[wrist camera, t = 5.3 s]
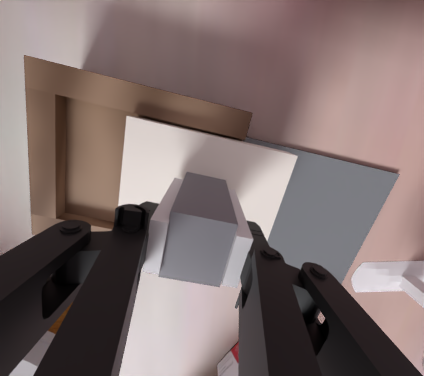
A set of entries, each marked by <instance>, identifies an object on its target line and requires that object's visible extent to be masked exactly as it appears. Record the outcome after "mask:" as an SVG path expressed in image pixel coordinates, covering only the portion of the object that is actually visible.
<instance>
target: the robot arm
mask: <svg viewBox="0 0 424 376" xmlns="http://www.w3.org/2000/svg"><path fill="white" fill-rule="evenodd" d="M183 180H184V179H179V178H174V180H173V181H172V183H171V185H170V186H169V188H168V190H167V192H166V193H165V195H164V197H163V198H162V200H161V202H160V204H159V203H154V202H148V201H146V202H143V203H141V204H140V205H137V204H124V205H121V206H118V207H117V208H116V209H115V218H114V227H113V229H112V230H111V231H91V225H90V224H89V223H88V222H85V221H81V220H67V221H62V222H59V223H57V224H54V225H53V226H51V227H49V228H47V229H46V230H44V231H42V232H41V233H39V234H37V235H35V236H34V237H32V238H30V239H29V240H27V241H25V242H23V243H22V244H20V245H18V246H16V247H15V248H13V249H11V250H10V251H8V252H6V253H4V254H3V255H1V256H0V376H9V375H10V373H11V372H12V371H13V370H14V369H15V368H16V367H17V365H18V364H19V363H20V362H21V361H22V360H23V358H24V357H25V356H26V355H27V354H28V353H29V352H30V350H31V349H32V348H33V347H34V346H35V345H36V343H37V342H38V341H39V340H40V339H41V338H42V337H43V335H44V334H45V333H46V332H47V331H48V330H49V329H50V327H51V326H52V325H53V324H54V323H55V322H56V320H57V319H58V318H59V317H60V316H61V315H62V314H63V312H64V311H65V310H66V309H67V308H68V307H69V305H70V304H71V303H72V302H73V303H72V305H71V307H70V308H69V310H68V312H67V314H66V316H65V318H64V319H63V321H62V323H61V325H60V327H59V329H58V331H57V332H56V334H55V336H54V338H53V340H52V342H51V343H50V345H49V347H48V349H47V351H46V353H45V355H44V356H43V358H42V360H41V362H40V364H39V366H38V367H37V369H36V371H35V373H34V375H33V376H119V372H120V368H121V363H122V358H123V354H124V349H125V345H126V340H127V335H128V331H129V326H130V321H131V317H132V312H133V308H134V303H135V298H136V294H137V289H138V285H139V280H140V273H141V269H142V267H143V272H147V273H153V274H158V275H159V273H160V270H161V264H162V259H163V253H164V247H165V242H166V236H167V231H168V225H169V215H170V211H171V208H172V206H173V203H174V201H175V199H176V196H177V194H178V192H179V189H180V187H181V184H182V182H183ZM228 190H229V194H230V197H231V201H232V204H233V208H234V211H235V215H236V218H237V222H238V228H237V231H236V233H235V237H234V240H233V243H232V247H231V250H230V253H229V257H228V260H227V264H226V267H225V270H224V274H223V277H222V280H221V281H222V285H223V286H229V287H235V288H237V287H238V284H239V281H240V279H241V284H242V287H241V290H240V293H239V296H238V299H237V302H236V305H235V308H238V305H239V365H238V376H423V375H422V374H421V373H420V372H419V371H418V370H417V369H416V368H415V367H414V365H413V364H412V363H411V362H410V361H409V360H408V359H407V358H406V356H405V355H404V354H403V353H402V352H401V351H400V350H399V349H398V347H397V346H396V345H395V344H394V343H393V342H392V341H391V340H390V339H389V337H388V336H387V335H386V334H385V333H384V332H383V331H382V330H381V328H380V327H379V326H378V325H377V324H376V323H375V322H374V321H373V320H372V318H371V317H370V316H369V315H368V314H367V313H366V312H365V311H364V309H363V308H362V307H361V306H360V305H359V304H358V303H357V302H356V301H355V299H354V298H353V297H352V296H351V295H350V294H349V293H348V292H347V290H346V289H345V288H344V287H343V286H342V285H341V284H340V283H339V282H338V280H337V279H336V278H335V277H334V276H333V275H332V274H331V273H330V272H329V271H328V270H327V269H325V268H323V267H322V266H321V265H318V264H316V263H311V262H305V263H303V264H302V267H301V269H299V268H296V267H293V266H291V265H288V264H286V263H285V261H284V258H283V256H282V255H281V254H280V253H279V252H278V251H277V250H275V249H273V248H271V247H270V246H269V244H268V242H267V240H266V238H265V237H264V234H263V233H262V230H261V228H260V226H259V225H258V224H256V223H255V222H252V221H247V220H246V218H245V216H244V213H243V210H242V208H241V205H240V202H239V200H238V197H237V194H236V192H235V190H231V189H228ZM143 264H144V265H143ZM320 311H321V312H322V314H323V315H324V317H325V320H324V322H323V323H322V324H321V323H320V321H319V320H318V318H317V317H318V315H319V313H320Z"/></svg>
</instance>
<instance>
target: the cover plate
mask: <svg viewBox="0 0 424 376" xmlns="http://www.w3.org/2000/svg"><path fill="white" fill-rule="evenodd" d="M297 157H298V156H296V155H294V154H291V153H289V152H286V151H281V150H277V149H273V148H269V147H264V146H260V145H256V144H252V143H247V142H243V141H239V140H235V139H230V138H226V137H222V136H218V135H213V134H209V133H205V132H201V131H196V130H192V129H188V128H184V127H180V126H175V125H171V124H167V123H163V122H158V121H154V120H150V119H146V118H141V117H137V116H126V127H125V138H124V149H123V159H122V170H121V181H120V191H119V202H118V206H121V205H124V204H137V205H140V204H141V203H143V202H146V201H148V202H154V203H159V204H160V202H161V200H162V198H163V197H164V195H165V193H166V192H167V190H168V188H169V186H170V185H171V183H172V181H173V180H174V178H179V179H184V180H183V182H182V184H181V187H180V189H179V192H178V194H177V196H176V199H175V201H174V203H173V206H172V208H171V211H170V215H169V225H168V231H167V236H166V242H165V247H164V253H163V259H162V264H161V270H160V273H159V276H158V277H163V278H169V279H175V280H181V281H187V282H193V283H198V284H204V285H210V286H216V287H220V284H221V280H222V277H223V274H224V270H225V267H226V264H227V260H228V257H229V253H230V250H231V247H232V243H233V240H234V237H235V233H236V231H237V228H238V222H237V218H236V215H235V211H234V208H233V204H232V201H231V197H230V194H229V190H228V189H231V190H235V192H236V194H237V197H238V200H239V202H240V205H241V208H242V210H243V213H244V216H245V218H246V220H247V221H252V222H255V223H256V224H258V225H259V226H260V228H261V230H262V233H263V234H264V237H265V238H266V240H268V238H269V235H270V232H271V229H272V226H273V224H274V221H275V218H276V215H277V213H278V210H279V207H280V204H281V202H282V199H283V196H284V193H285V190H286V188H287V185H288V182H289V179H290V177H291V174H292V171H293V168H294V165H295V163H296V160H297Z"/></svg>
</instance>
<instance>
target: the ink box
mask: <svg viewBox="0 0 424 376" xmlns="http://www.w3.org/2000/svg"><path fill="white" fill-rule="evenodd" d="M238 365H239V341H238V343H237V344H236V345H235V346H234V347H233V348H232V349H231V350H230V351H229V352H228V354H227V355H226V356H225V357H224V358H223V359H222V360H221V361H220V362H219V363H218V364H217V369H218V376H238Z"/></svg>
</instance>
